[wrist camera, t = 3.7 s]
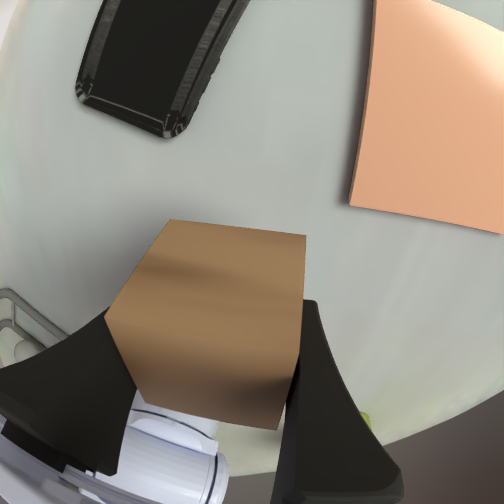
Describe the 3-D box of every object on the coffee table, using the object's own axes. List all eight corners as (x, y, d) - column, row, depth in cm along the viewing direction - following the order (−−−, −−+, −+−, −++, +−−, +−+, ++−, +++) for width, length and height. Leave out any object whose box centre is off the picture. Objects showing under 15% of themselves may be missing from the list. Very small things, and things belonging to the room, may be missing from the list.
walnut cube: (289, 328, 14) (277, 430, 10) (183, 312, 14) (145, 402, 10) (306, 235, 11) (298, 353, 7) (170, 219, 11) (103, 316, 7)
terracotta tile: (507, 230, 16) (512, 236, 15) (348, 198, 17) (349, 205, 16) (549, 64, 8) (557, 66, 8) (374, -12, 10) (377, -15, 9)
